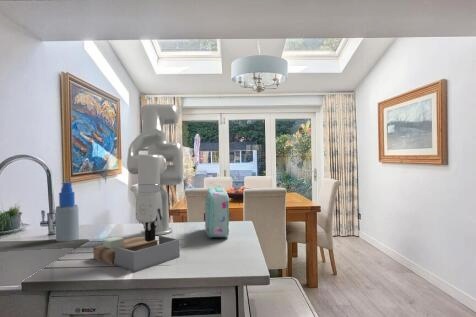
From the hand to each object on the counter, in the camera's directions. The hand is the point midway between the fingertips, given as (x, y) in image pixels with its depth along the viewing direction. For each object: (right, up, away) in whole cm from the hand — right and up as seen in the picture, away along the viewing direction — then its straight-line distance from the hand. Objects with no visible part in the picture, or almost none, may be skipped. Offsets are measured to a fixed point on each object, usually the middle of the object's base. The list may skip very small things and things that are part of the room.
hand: (150, 240), depth 110 cm
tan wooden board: (-9, -5, +1) cm, 10 cm away
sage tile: (-12, -1, -2) cm, 13 cm away
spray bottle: (-44, -7, +27) cm, 52 cm away
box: (+1, -5, -6) cm, 8 cm away
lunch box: (+21, -5, +31) cm, 38 cm away
